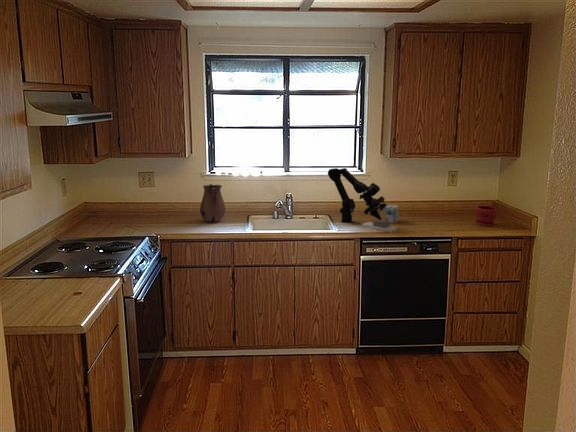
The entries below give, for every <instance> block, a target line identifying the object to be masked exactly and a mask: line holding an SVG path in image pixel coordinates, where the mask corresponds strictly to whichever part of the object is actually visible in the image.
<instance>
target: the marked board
mask: <svg viewBox="0 0 576 432" xmlns="http://www.w3.org/2000/svg"><path fill="white" fill-rule="evenodd" d="M361 226H362V227H364V228H369V229H373V228H374V229H373V230H378V229H379V231H382V232H383V231H385V232H387V233H388V232H389V233H392V232H394V231H398V227H397V226H391V225H390V226H389V227H386V228H383V227H378V226H373V221H367V222H365V223H361Z"/></svg>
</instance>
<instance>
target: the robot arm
mask: <svg viewBox="0 0 576 432" xmlns="http://www.w3.org/2000/svg"><path fill="white" fill-rule="evenodd" d="M327 176H328V177H329V180H331V182H334V185H335V188H336V189H337V191H338V194H339V196H340V198H341V202H342V203H341V205H342V207H341V208H339V213H340V214H341V223H352V221H353V214H352V213H354V211H355V209H356V203H355V201H354V199H353V198H351V197H349V195H348V193H347V190H346V187H345V186H344V184H343V181H342V179H341V178H342V177H341V176H343V178H344V179H345V180H347V181H348V183H350V184H351V186H352V187H353V190H354V191H355V192H356V193H357V194H360V195H359V197H358V199H359V200H361V199H363V200H364V202H365V206H367V208H366V209H364V210H363V213H364V215H365V216H367V215H369V216H371V217H374V218H375V219H376V220H377V219H379V220H381V217H380V215H379V214H378V211H379V210H384V208H385V207H386V206H388V205H387V204H386V203H385V197H384V196H379V198H374V196H376V195H377V194H378V193H379V192H380V191H381V187H380V186H379V185H378V184H376V183H374V182H372V183H371V184H370V185H369V186H368V185H367V184H365V183H364V182H361V181H359V180H358V179H357V178H356V177H355V176H354V175H353V174H352V173H350V171H349V170H348V169H347V168H346V167H345V168H344V167H343V168H337V167H336V168H329V169H328V171H327Z"/></svg>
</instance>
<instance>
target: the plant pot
mask: <svg viewBox="0 0 576 432" xmlns="http://www.w3.org/2000/svg"><path fill="white" fill-rule="evenodd" d="M497 212H498V208H496V207H494V206H490V205H477V206H476V208H475V218H476V220H475V223H476V224H477V225H479V226H483V227H491V226H493V225H494V224H495V220H496V217H497Z"/></svg>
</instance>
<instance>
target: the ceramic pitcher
mask: <svg viewBox="0 0 576 432" xmlns="http://www.w3.org/2000/svg"><path fill="white" fill-rule="evenodd" d="M222 186H223V185H221V184H214V185H213V184H212V183H211V184H206V185H205V184H204V185H203V186H202V188H203V196H202V199H201V202H200V207H199V214H200V216H201V217H202V219H203V220H204V221H205V222H208V221H209V223H215V222H217V223H218V222H220V221H221V220H222V219H223V218H224V216H225V214H226V207H225V201H224V199H223V194H222V191H221V188H222Z"/></svg>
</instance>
